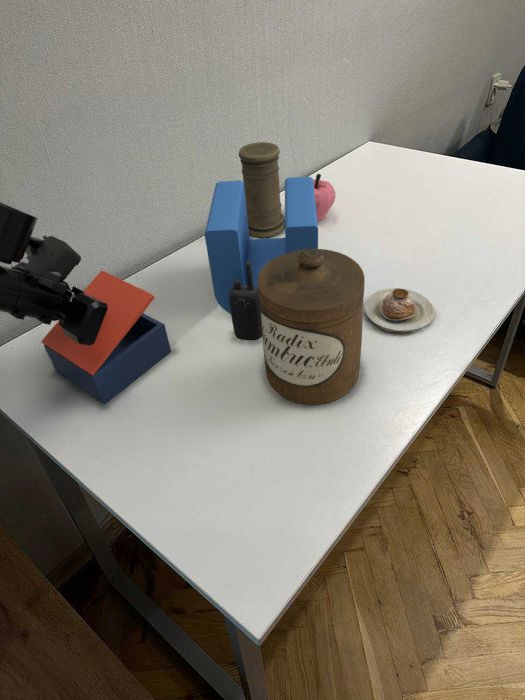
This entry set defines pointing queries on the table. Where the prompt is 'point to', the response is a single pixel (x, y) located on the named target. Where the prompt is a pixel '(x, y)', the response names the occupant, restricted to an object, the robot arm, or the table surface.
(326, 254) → the wooden container
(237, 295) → the two-way radio
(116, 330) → the lid
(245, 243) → the block
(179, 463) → the table surface
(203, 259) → the table surface
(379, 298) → the pastry
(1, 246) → the robot arm
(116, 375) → the box
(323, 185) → the apple
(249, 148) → the container
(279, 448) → the table surface
